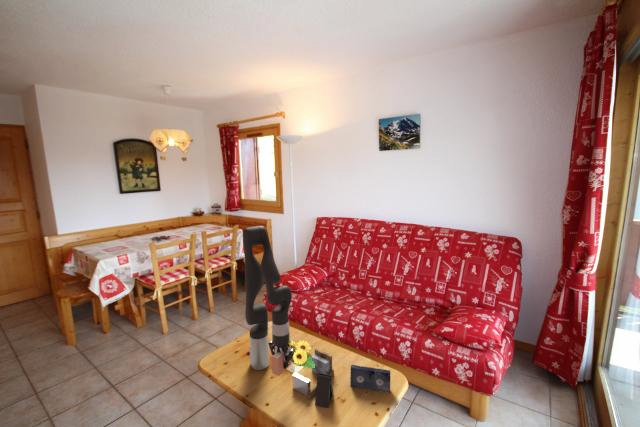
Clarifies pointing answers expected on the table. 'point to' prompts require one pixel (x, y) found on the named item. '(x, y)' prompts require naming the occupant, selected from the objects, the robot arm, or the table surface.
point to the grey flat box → (301, 384)
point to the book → (278, 364)
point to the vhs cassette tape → (370, 378)
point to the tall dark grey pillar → (321, 367)
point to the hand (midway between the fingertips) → (282, 366)
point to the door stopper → (323, 390)
